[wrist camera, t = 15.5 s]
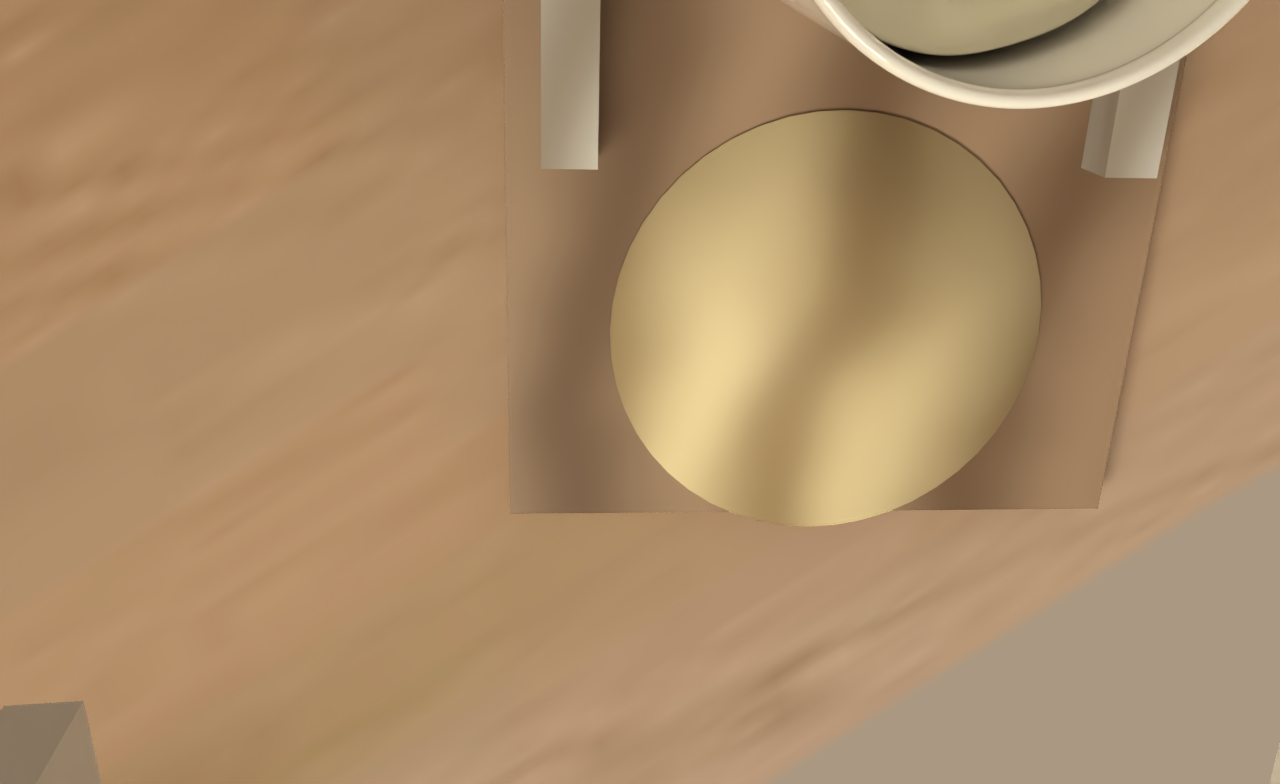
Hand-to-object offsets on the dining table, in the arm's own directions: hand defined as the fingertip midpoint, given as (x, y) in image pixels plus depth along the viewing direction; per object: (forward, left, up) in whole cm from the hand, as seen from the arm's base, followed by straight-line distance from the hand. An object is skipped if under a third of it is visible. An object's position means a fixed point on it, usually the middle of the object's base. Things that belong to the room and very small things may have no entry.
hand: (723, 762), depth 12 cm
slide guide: (+6, +5, -23) cm, 24 cm away
